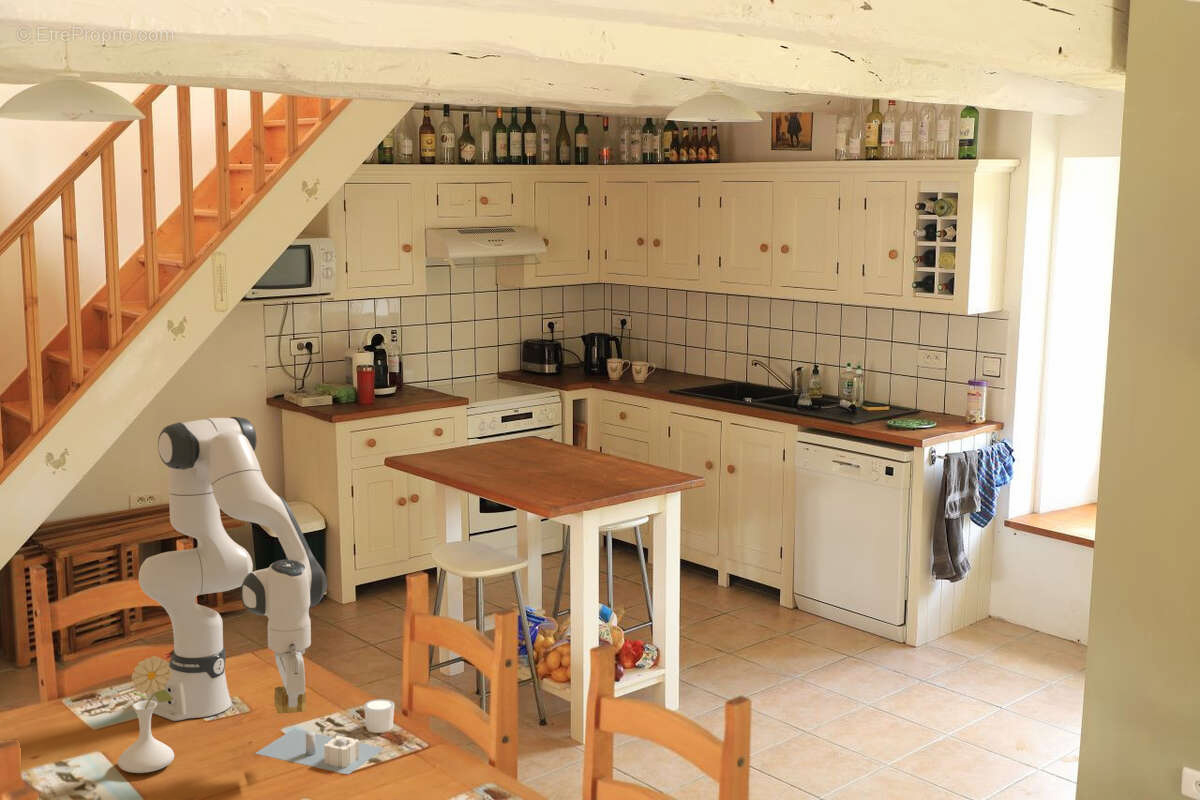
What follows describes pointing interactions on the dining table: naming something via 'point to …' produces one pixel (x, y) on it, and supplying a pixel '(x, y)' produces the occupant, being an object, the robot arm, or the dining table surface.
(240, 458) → the robot arm
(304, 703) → the gear
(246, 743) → the dining table surface
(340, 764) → the white gear
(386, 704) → the white cup
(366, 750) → the board
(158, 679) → the flower in vase
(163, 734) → the dining table surface
